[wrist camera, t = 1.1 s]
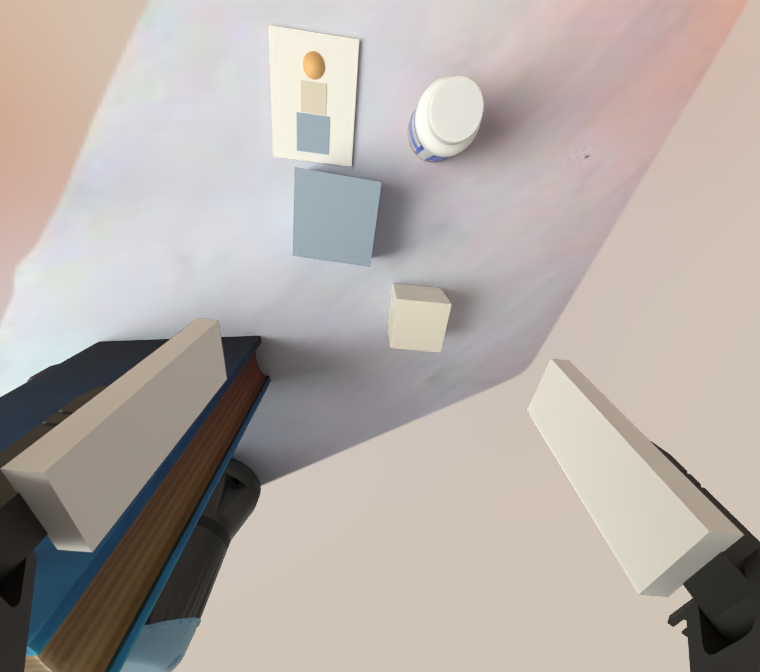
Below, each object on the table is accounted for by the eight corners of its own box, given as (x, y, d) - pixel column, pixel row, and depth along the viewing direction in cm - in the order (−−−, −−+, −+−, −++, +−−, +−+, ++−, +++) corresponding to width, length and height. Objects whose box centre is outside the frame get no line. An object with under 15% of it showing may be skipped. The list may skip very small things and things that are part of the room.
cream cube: (431, 330, 40) (440, 352, 35) (387, 326, 40) (389, 348, 35) (440, 287, 38) (451, 304, 32) (393, 282, 37) (396, 298, 32)
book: (105, 396, 43) (-330, 740, 16) (76, 342, 40) (-559, 678, 12) (272, 389, 44) (116, 714, 17) (260, 335, 40) (30, 646, 13)
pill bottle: (470, 119, 30) (511, 90, 21) (441, 173, 32) (467, 167, 23) (424, 86, 29) (447, 41, 20) (396, 145, 31) (407, 127, 22)
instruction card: (351, 166, 31) (351, 166, 31) (274, 156, 31) (273, 156, 31) (359, 41, 27) (359, 39, 27) (269, 26, 27) (267, 24, 26)
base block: (370, 256, 36) (370, 266, 31) (302, 247, 35) (292, 255, 31) (380, 182, 32) (381, 182, 28) (305, 170, 32) (294, 167, 27)
